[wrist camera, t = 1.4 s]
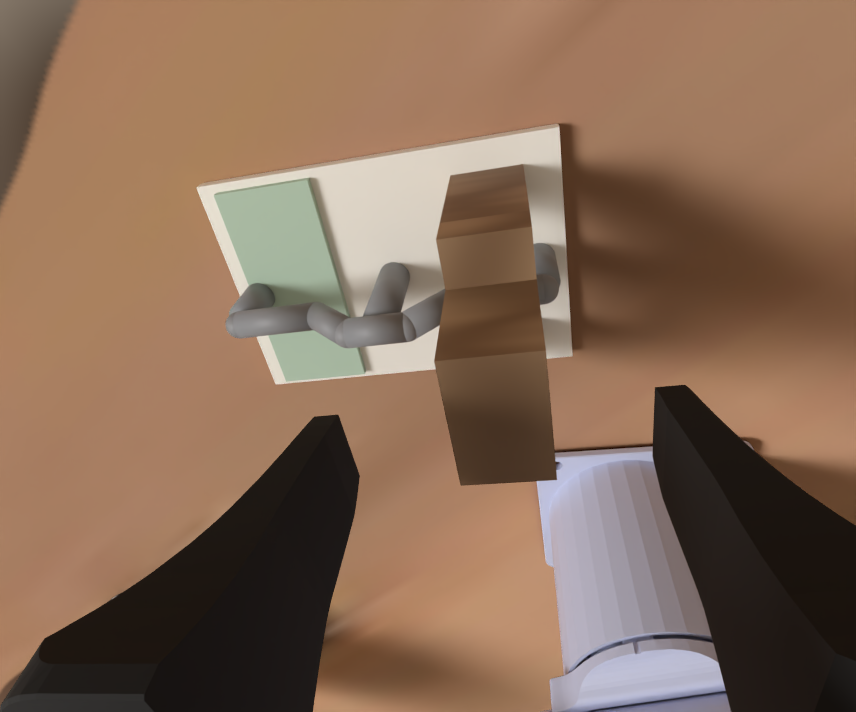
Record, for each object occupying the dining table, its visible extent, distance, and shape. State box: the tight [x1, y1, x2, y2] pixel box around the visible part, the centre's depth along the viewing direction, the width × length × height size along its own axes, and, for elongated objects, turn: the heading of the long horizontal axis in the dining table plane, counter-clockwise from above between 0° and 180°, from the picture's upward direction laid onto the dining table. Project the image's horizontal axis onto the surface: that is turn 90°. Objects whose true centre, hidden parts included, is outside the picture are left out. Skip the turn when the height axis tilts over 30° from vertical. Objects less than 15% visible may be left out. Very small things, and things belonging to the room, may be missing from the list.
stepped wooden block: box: [434, 164, 557, 485], centre depth 18 cm, size 2×7×9 cm, turn 11°
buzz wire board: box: [196, 124, 573, 384], centre depth 21 cm, size 13×9×5 cm
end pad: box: [214, 178, 366, 382], centre depth 23 cm, size 4×8×1 cm, turn 11°
